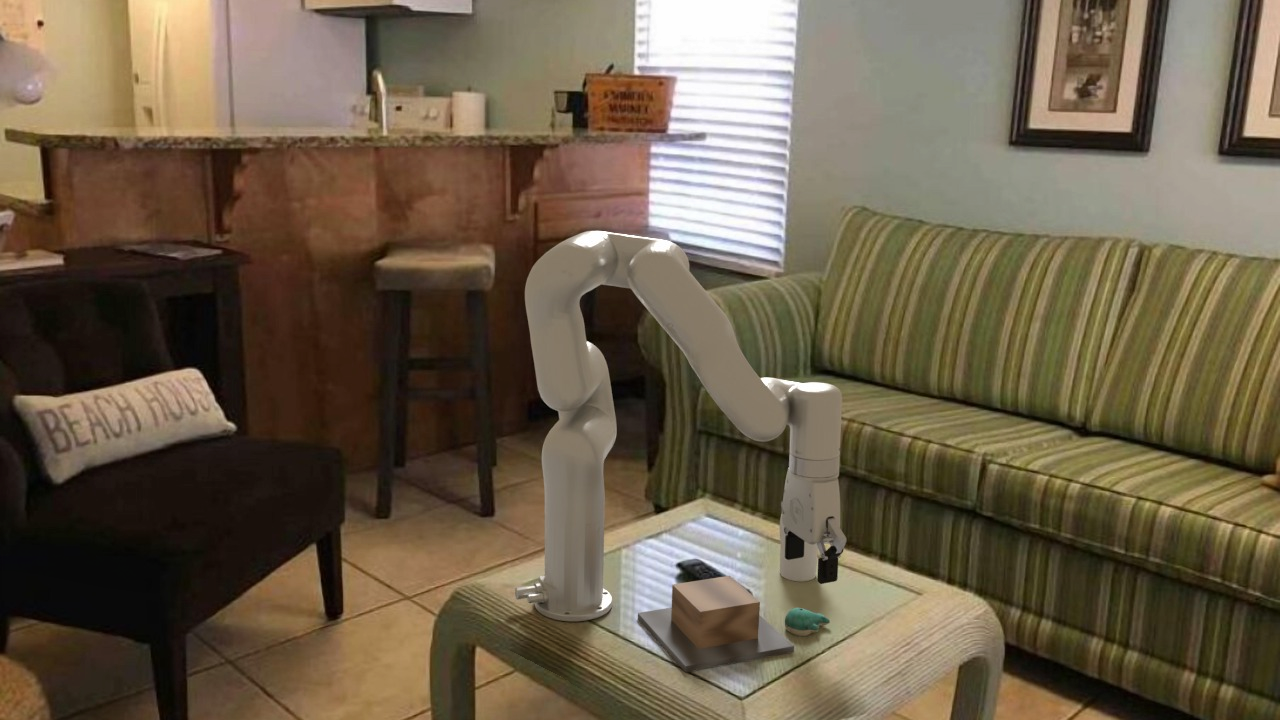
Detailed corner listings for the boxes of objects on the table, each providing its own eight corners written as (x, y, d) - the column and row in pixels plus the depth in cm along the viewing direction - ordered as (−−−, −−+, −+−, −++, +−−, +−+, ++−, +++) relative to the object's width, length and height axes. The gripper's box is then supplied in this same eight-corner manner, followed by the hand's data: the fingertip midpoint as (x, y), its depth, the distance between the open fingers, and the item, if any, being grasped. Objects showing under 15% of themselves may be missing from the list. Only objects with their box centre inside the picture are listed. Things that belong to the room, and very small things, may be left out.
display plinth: (685, 672, 160) (687, 628, 159) (637, 618, 176) (638, 577, 175) (793, 652, 167) (796, 609, 166) (738, 602, 183) (740, 562, 182)
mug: (824, 579, 193) (828, 514, 190) (790, 584, 190) (794, 519, 188) (795, 557, 202) (799, 495, 199) (762, 562, 199) (766, 499, 197)
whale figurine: (776, 626, 176) (778, 603, 175) (815, 617, 179) (816, 596, 178) (797, 642, 171) (798, 619, 170) (836, 633, 174) (838, 611, 173)
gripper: (764, 451, 175) (762, 553, 178) (823, 485, 159) (819, 596, 163) (806, 445, 177) (802, 546, 181) (867, 478, 162) (862, 587, 166)
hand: (810, 569), depth 172 cm, fingers open, 9 cm apart
